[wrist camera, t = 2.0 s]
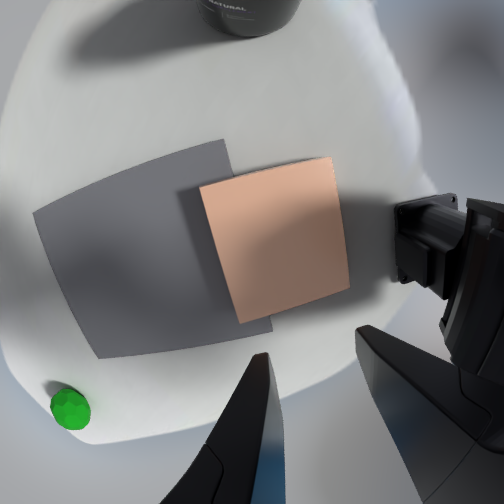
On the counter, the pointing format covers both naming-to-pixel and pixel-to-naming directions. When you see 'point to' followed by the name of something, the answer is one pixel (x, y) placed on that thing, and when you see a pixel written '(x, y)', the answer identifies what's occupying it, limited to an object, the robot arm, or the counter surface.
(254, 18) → the supplement bottle
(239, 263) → the tile
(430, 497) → the robot arm
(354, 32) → the counter surface
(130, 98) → the counter surface
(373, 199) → the counter surface
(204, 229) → the mat
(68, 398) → the polyhedron
